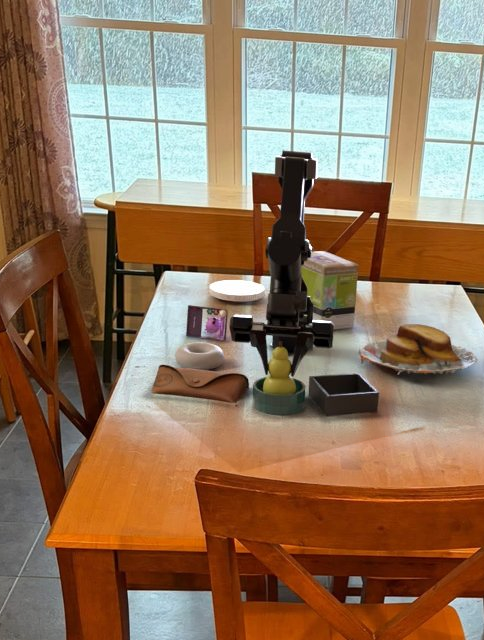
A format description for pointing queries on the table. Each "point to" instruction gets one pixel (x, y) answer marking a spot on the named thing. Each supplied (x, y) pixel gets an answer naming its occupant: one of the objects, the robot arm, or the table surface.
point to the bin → (343, 394)
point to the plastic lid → (237, 290)
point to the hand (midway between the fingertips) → (279, 375)
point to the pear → (279, 374)
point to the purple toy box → (212, 324)
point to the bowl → (278, 399)
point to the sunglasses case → (200, 384)
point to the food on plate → (418, 351)
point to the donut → (199, 356)
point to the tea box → (331, 288)
